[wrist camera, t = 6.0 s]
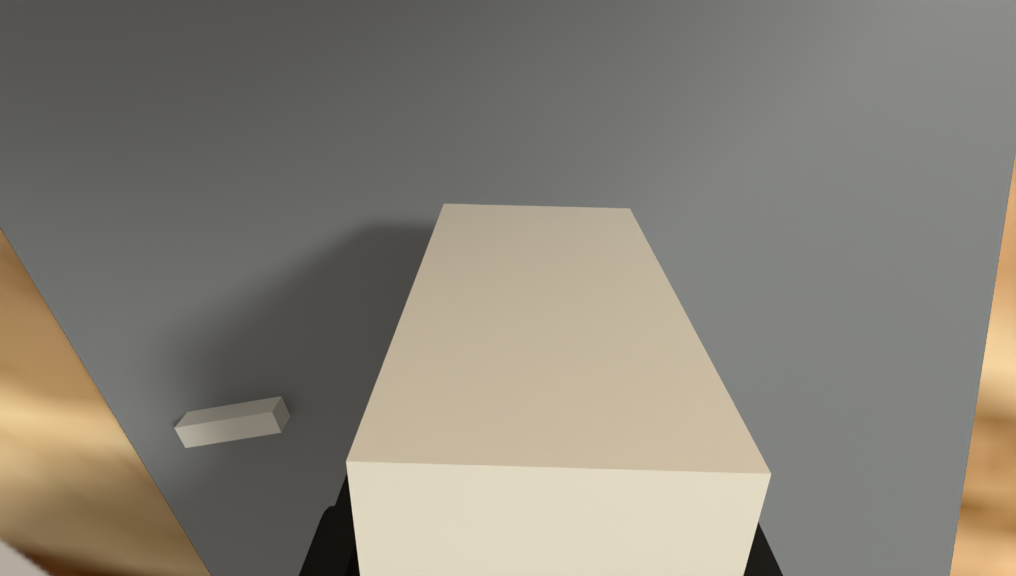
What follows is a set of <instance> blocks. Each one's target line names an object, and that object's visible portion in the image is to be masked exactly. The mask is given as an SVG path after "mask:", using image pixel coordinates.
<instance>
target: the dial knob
mask: <svg viewBox="0 0 1016 576" xmlns="http://www.w3.org/2000/svg"><path fill="white" fill-rule="evenodd" d="M346 466H347V474H348V482H349V490H350V498H351V506H352V514H353V522H354V530H355V538H356V546H357V554H358V563H359V571H360V576H743V575H744V571H745V568H746V564H747V560H748V557H749V553H750V549H751V546H752V542H753V539H754V535H755V531H756V528H757V524H758V521H759V517H760V513H761V510H762V506H763V502H764V499H765V495H766V492H767V488H768V484H769V481H770V477H771V472H770V470H769V468H768V467H767V465H766V463H765V461H764V459H763V457H762V455H761V453H760V452H759V450H758V448H757V446H756V444H755V442H754V440H753V438H752V437H751V435H750V433H749V431H748V429H747V427H746V425H745V423H744V422H743V420H742V418H741V416H740V414H739V412H738V410H737V408H736V407H735V405H734V403H733V401H732V399H731V397H730V395H729V393H728V392H727V390H726V388H725V386H724V384H723V382H722V380H721V378H720V377H719V375H718V373H717V371H716V369H715V367H714V365H713V363H712V362H711V360H710V358H709V356H708V354H707V352H706V350H705V348H704V347H703V345H702V343H701V341H700V339H699V337H698V335H697V333H696V332H695V330H694V328H693V326H692V324H691V322H690V320H689V318H688V317H687V315H686V313H685V311H684V309H683V307H682V305H681V303H680V302H679V300H678V298H677V296H676V294H675V292H674V290H673V288H672V287H671V285H670V283H669V281H668V279H667V277H666V275H665V273H664V272H663V270H662V268H661V266H660V264H659V262H658V260H657V258H656V257H655V255H654V253H653V251H652V249H651V247H650V245H649V243H648V242H647V240H646V238H645V236H644V234H643V232H642V230H641V228H640V227H639V225H638V223H637V221H636V219H635V217H634V215H633V213H632V212H631V210H630V208H594V207H556V206H518V205H480V204H444V205H443V207H442V210H441V213H440V215H439V218H438V220H437V223H436V226H435V228H434V231H433V234H432V236H431V239H430V241H429V244H428V247H427V249H426V252H425V255H424V257H423V260H422V263H421V265H420V268H419V270H418V273H417V276H416V278H415V281H414V284H413V286H412V289H411V291H410V294H409V297H408V299H407V302H406V305H405V307H404V310H403V313H402V315H401V318H400V320H399V323H398V326H397V328H396V331H395V334H394V336H393V339H392V342H391V344H390V347H389V349H388V352H387V355H386V357H385V360H384V363H383V365H382V368H381V370H380V373H379V376H378V378H377V381H376V384H375V386H374V389H373V392H372V394H371V397H370V399H369V402H368V405H367V407H366V410H365V413H364V415H363V418H362V420H361V423H360V426H359V428H358V431H357V434H356V436H355V439H354V442H353V444H352V447H351V449H350V452H349V455H348V457H347V460H346Z"/></svg>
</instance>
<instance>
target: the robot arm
mask: <svg viewBox="0 0 1016 576" xmlns="http://www.w3.org/2000/svg"><path fill="white" fill-rule="evenodd" d="M299 576H360V571H359V563H358V554H357V546H356V538H355V530H354V522H353V514H352V506H351V498H350V490H349V482H348V474H346V477H345V479H344V482H343V485H342V487H341V490H340V493H339V496H338V498H337V501H336V504H335V506H330V507H328V508H327V509H326V510H325V511H324V513H323V515H322V517H321V519H320V522H319V524H318V527H317V530H316V532H315V535H314V537H313V540H312V542H311V545H310V548H309V550H308V553H307V555H306V558H305V561H304V563H303V566H302V568H301V571H300V574H299ZM743 576H783V574H782V572H781V570H780V567H779V565H778V563H777V561H776V559H775V557H774V554H773V552H772V550H771V548H770V546H769V544H768V541H767V539H766V537H765V535H764V533H763V531H762V528H761V526H760V524H759V522H758V524H757V528H756V531H755V535H754V539H753V542H752V546H751V549H750V553H749V557H748V560H747V564H746V568H745V571H744V575H743Z"/></svg>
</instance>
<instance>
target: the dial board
mask: <svg viewBox="0 0 1016 576" xmlns="http://www.w3.org/2000/svg"><path fill="white" fill-rule="evenodd" d="M1015 153H1016V0H0V228H1V229H2V231H3V233H4V234H5V236H6V238H7V239H8V241H9V243H10V244H11V246H12V248H13V249H14V251H15V253H16V254H17V256H18V257H19V259H20V261H21V262H22V264H23V266H24V267H25V269H26V271H27V272H28V274H29V276H30V277H31V279H32V281H33V282H34V284H35V286H36V287H37V289H38V291H39V292H40V294H41V295H42V297H43V299H44V300H45V302H46V304H47V305H48V307H49V309H50V310H51V312H52V314H53V315H54V317H55V319H56V320H57V322H58V324H59V325H60V327H61V328H62V330H63V332H64V333H65V335H66V337H67V338H68V340H69V342H70V343H71V345H72V347H73V348H74V350H75V352H76V353H77V355H78V357H79V358H80V360H81V362H82V363H83V365H84V366H85V368H86V370H87V371H88V373H89V375H90V376H91V378H92V380H93V381H94V383H95V385H96V386H97V388H98V390H99V391H100V393H101V395H102V396H103V398H104V400H105V401H106V403H107V404H108V406H109V408H110V409H111V411H112V413H113V414H114V416H115V418H116V419H117V421H118V423H119V424H120V426H121V428H122V429H123V431H124V433H125V434H126V436H127V438H128V439H129V441H130V442H131V444H132V446H133V447H134V449H135V451H136V452H137V454H138V456H139V457H140V459H141V461H142V462H143V464H144V466H145V467H146V469H147V471H148V472H149V474H150V476H151V477H152V479H153V480H154V482H155V484H156V485H157V487H158V489H159V490H160V492H161V494H162V495H163V497H164V499H165V500H166V502H167V504H168V505H169V507H170V509H171V510H172V512H173V514H174V515H175V517H176V518H177V520H178V522H179V523H180V525H181V527H182V528H183V530H184V532H185V533H186V535H187V537H188V538H189V540H190V542H191V543H192V545H193V547H194V548H195V550H196V551H197V553H198V555H199V556H200V558H201V560H202V561H203V563H204V565H205V566H206V568H207V570H208V571H209V573H210V575H211V576H299V574H300V571H301V568H302V566H303V563H304V561H305V558H306V555H307V553H308V550H309V548H310V545H311V542H312V540H313V537H314V535H315V532H316V530H317V527H318V524H319V522H320V519H321V517H322V515H323V513H324V511H325V510H326V509H327V508H328V507H330V506H335V504H336V501H337V498H338V496H339V493H340V490H341V487H342V485H343V482H344V479H345V477H346V474H347V466H346V460H347V457H348V455H349V452H350V449H351V447H352V444H353V442H354V439H355V436H356V434H357V431H358V428H359V426H360V423H361V420H362V418H363V415H364V413H365V410H366V407H367V405H368V402H369V399H370V397H371V394H372V392H373V389H374V386H375V384H376V381H377V378H378V376H379V373H380V370H381V368H382V365H383V363H384V360H385V357H386V355H387V352H388V349H389V347H390V344H391V342H392V339H393V336H394V334H395V331H396V328H397V326H398V323H399V320H400V318H401V315H402V313H403V310H404V307H405V305H406V302H407V299H408V297H409V294H410V291H411V289H412V286H413V284H414V281H415V278H416V276H417V273H418V270H419V268H420V265H421V263H422V260H423V257H424V255H425V252H426V249H427V247H428V244H429V241H430V239H431V236H432V234H433V231H434V228H435V226H436V223H437V220H438V218H439V215H440V213H441V210H442V207H443V205H444V204H480V205H518V206H556V207H594V208H630V210H631V212H632V213H633V215H634V217H635V219H636V221H637V223H638V225H639V227H640V228H641V230H642V232H643V234H644V236H645V238H646V240H647V242H648V243H649V245H650V247H651V249H652V251H653V253H654V255H655V257H656V258H657V260H658V262H659V264H660V266H661V268H662V270H663V272H664V273H665V275H666V277H667V279H668V281H669V283H670V285H671V287H672V288H673V290H674V292H675V294H676V296H677V298H678V300H679V302H680V303H681V305H682V307H683V309H684V311H685V313H686V315H687V317H688V318H689V320H690V322H691V324H692V326H693V328H694V330H695V332H696V333H697V335H698V337H699V339H700V341H701V343H702V345H703V347H704V348H705V350H706V352H707V354H708V356H709V358H710V360H711V362H712V363H713V365H714V367H715V369H716V371H717V373H718V375H719V377H720V378H721V380H722V382H723V384H724V386H725V388H726V390H727V392H728V393H729V395H730V397H731V399H732V401H733V403H734V405H735V407H736V408H737V410H738V412H739V414H740V416H741V418H742V420H743V422H744V423H745V425H746V427H747V429H748V431H749V433H750V435H751V437H752V438H753V440H754V442H755V444H756V446H757V448H758V450H759V452H760V453H761V455H762V457H763V459H764V461H765V463H766V465H767V467H768V468H769V470H770V472H771V477H770V481H769V484H768V488H767V492H766V495H765V499H764V502H763V506H762V510H761V513H760V517H759V521H758V522H759V524H760V526H761V528H762V531H763V533H764V535H765V537H766V539H767V541H768V544H769V546H770V548H771V550H772V552H773V554H774V557H775V559H776V561H777V563H778V565H779V567H780V570H781V572H782V574H783V576H950V570H951V563H952V557H953V551H954V544H955V538H956V531H957V525H958V518H959V512H960V506H961V499H962V493H963V486H964V480H965V474H966V467H967V461H968V454H969V448H970V441H971V435H972V429H973V422H974V416H975V409H976V403H977V396H978V390H979V384H980V377H981V371H982V364H983V358H984V352H985V345H986V339H987V332H988V326H989V319H990V313H991V307H992V300H993V294H994V287H995V281H996V275H997V268H998V262H999V255H1000V249H1001V242H1002V236H1003V230H1004V223H1005V217H1006V210H1007V204H1008V197H1009V191H1010V185H1011V178H1012V172H1013V165H1014V159H1015Z"/></svg>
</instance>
